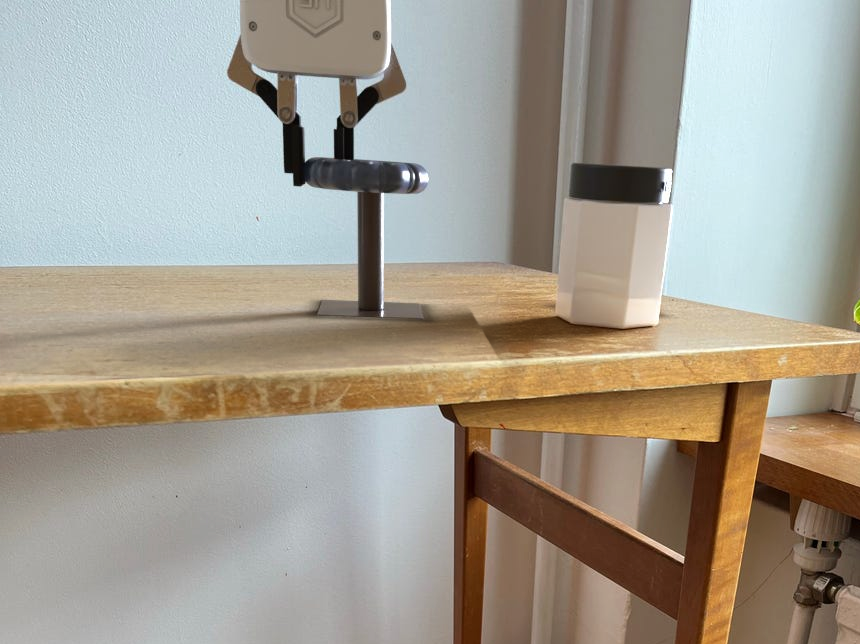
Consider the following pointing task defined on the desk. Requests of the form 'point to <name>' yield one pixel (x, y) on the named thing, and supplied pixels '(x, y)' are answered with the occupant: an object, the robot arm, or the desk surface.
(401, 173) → the ring
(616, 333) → the desk surface
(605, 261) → the jar
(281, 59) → the robot arm
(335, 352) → the desk surface
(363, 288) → the post
